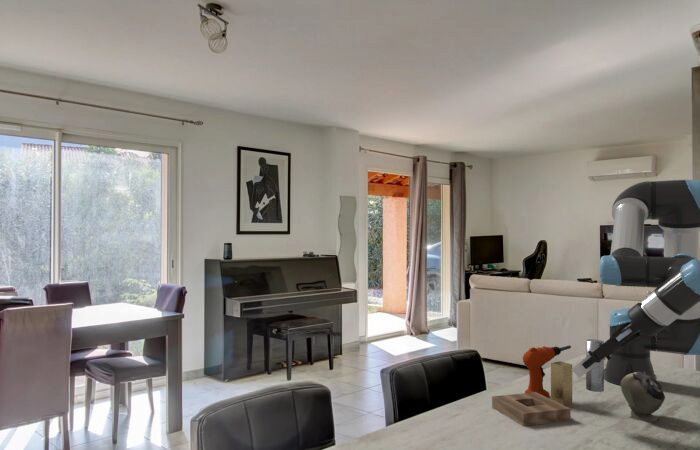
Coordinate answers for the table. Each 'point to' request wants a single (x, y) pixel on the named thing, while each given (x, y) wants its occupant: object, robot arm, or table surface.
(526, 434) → the table surface
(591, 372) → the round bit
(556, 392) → the light brown rectangular block
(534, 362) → the toy drill
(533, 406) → the socket block
